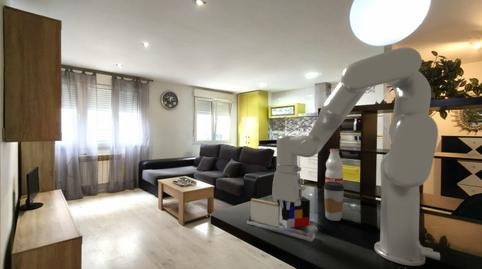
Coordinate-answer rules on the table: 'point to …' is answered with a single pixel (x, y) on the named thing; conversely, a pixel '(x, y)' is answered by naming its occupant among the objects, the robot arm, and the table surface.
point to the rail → (284, 230)
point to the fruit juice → (334, 167)
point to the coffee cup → (333, 200)
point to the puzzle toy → (298, 214)
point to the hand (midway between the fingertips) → (286, 219)
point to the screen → (265, 212)
